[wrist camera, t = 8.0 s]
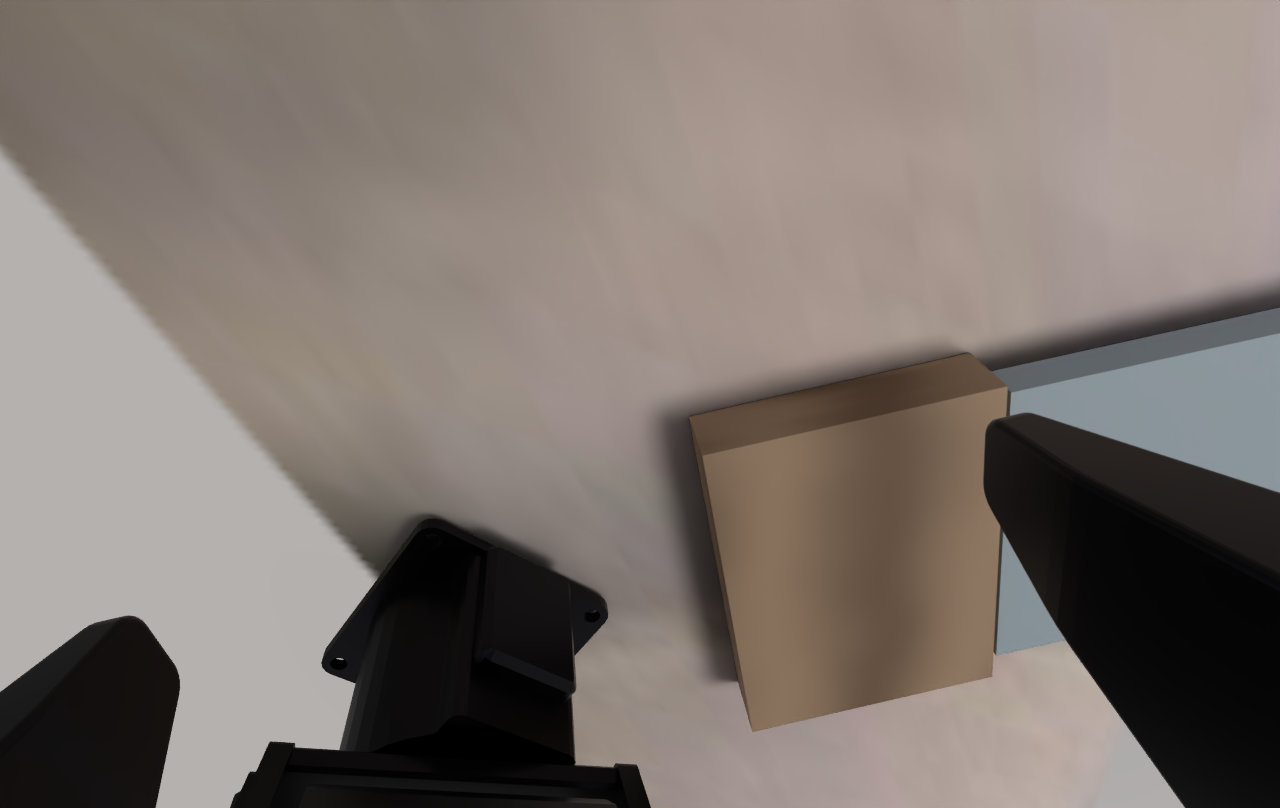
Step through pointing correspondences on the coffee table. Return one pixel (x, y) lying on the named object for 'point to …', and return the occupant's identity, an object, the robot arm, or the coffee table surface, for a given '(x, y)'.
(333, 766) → the robot arm
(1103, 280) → the coffee table surface
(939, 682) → the block
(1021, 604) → the panel
